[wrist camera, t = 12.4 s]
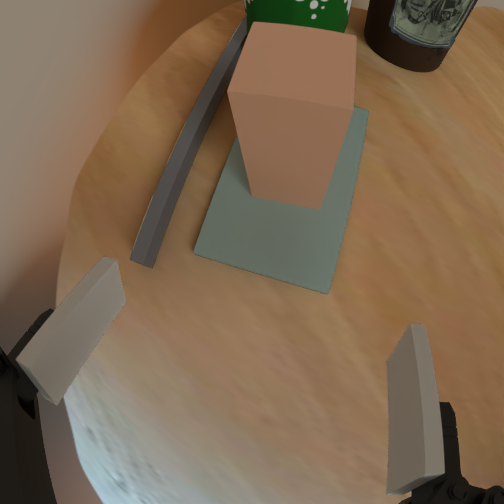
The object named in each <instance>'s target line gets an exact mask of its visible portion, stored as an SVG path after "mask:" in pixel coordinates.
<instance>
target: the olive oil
mask: <svg viewBox="0 0 504 504" xmlns="http://www.w3.org/2000/svg"><path fill="white" fill-rule="evenodd" d="M477 1H478V0H370V2H369V7H368V13H367V18H366V23H365V29H364V35H365V38H366V40H367V42H368V44H369V45H370V46H371V47H372V49H373V50H374V51H375V52H377V53H378V54H379V55H380V56H381V57H383V58H384V59H386V60H387V61H389V62H391V63H393V64H395V65H397V66H399V67H402V68H404V69H408V70H411V71H416V72H430V71H433V70H435V69H437V68H438V67H439V66H440V64H441V63H442V61H443V59H444V58H445V56H446V54H447V52H448V51H449V49H450V47H451V46H452V45H453V43H454V42H455V38H456V37H457V35H458V33H459V32H460V30H461V28H462V26H463V25H464V23H465V21H466V20H467V18H468V16H469V14H470V13H471V11H472V9H473V8H474V6H475V4H476V2H477Z"/></svg>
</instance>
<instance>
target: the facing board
mask: <svg viewBox="0 0 504 504" xmlns="http://www.w3.org/2000/svg"><path fill="white" fill-rule="evenodd" d="M368 114H369V111H368V110H365V109H361V108H358V107H355V106H354V110H353V114H352V117H351V120H350V123H349V126H348V129H347V132H346V135H345V138H344V141H343V144H342V147H341V150H340V153H339V156H338V159H337V162H336V165H335V167H334V170H333V173H332V176H331V179H330V182H329V185H328V187H327V190H326V193H325V196H324V199H323V201H322V204H321V207H320V210H319V209H314V208H309V207H303V206H298V205H293V204H288V203H282V202H277V201H271V200H266V199H260V198H254V197H252V194H251V190H250V185H249V181H248V177H247V173H246V168H245V164H244V160H243V156H242V151H241V147H240V143H239V139H238V135H237V136H236V139H235V141H234V144H233V146H232V149H231V151H230V154H229V156H228V159H227V161H226V164H225V166H224V169H223V172H222V174H221V177H220V179H219V182H218V185H217V187H216V190H215V193H214V195H213V198H212V201H211V204H210V206H209V209H208V212H207V214H206V217H205V220H204V223H203V226H202V228H201V231H200V234H199V237H198V240H197V243H196V245H195V248H194V251H193V253H194V254H195V255H198V256H201V257H205V258H208V259H211V260H214V261H218V262H221V263H224V264H227V265H230V266H234V267H237V268H240V269H243V270H247V271H250V272H253V273H257V274H260V275H263V276H266V277H270V278H273V279H276V280H280V281H283V282H286V283H290V284H293V285H297V286H300V287H303V288H307V289H310V290H313V291H317V292H320V293H324V294H328V293H329V289H330V286H331V282H332V278H333V275H334V271H335V267H336V264H337V260H338V256H339V252H340V248H341V244H342V240H343V236H344V232H345V228H346V224H347V220H348V215H349V211H350V207H351V202H352V198H353V193H354V189H355V184H356V179H357V174H358V169H359V164H360V159H361V154H362V148H363V143H364V137H365V132H366V126H367V120H368Z"/></svg>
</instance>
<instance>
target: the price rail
mask: <svg viewBox="0 0 504 504" xmlns="http://www.w3.org/2000/svg"><path fill="white" fill-rule="evenodd" d="M246 39H247V23H246V16H245V17H244V19H243V20H242V21H241V23H240V24H239V26H238V27H237V29H236V31H235V32H234V34H233V36H232V37H231V39H230V41H229V42H228V44H227V47H226V48H225V50H224V52H223V54H222V55H221V57H220V59H219V61H218V62H217V64H216V66H215V68H214V69H213V71H212V73H211V75H210V77H209V79H208V80H207V82H206V84H205V86H204V88H203V90H202V92H201V94H200V96H199V98H198V99H197V101H196V103H195V105H194V107H193V109H192V111H191V113H190V115H189V117H188V119H187V120H186V122H185V124H184V126H183V128H182V130H181V132H180V135H179V137H178V139H177V141H176V143H175V145H174V147H173V150H172V152H171V154H170V156H169V158H168V161H167V163H166V167H165V169H164V172H163V174H162V176H161V179H160V181H159V183H158V186H157V188H156V191H155V193H154V195H153V196H152V199H151V201H150V204H149V206H148V209H147V211H146V214H145V216H144V219H143V222H142V224H141V227H140V230H139V232H138V235H137V238H136V240H135V243H134V246H133V251H132V254H131V257H130V260H132V261H134V262H137V263H139V264H142V265H145V266H147V267H150V268H153V266H154V263H155V260H156V257H157V254H158V251H159V248H160V245H161V243H162V240H163V237H164V234H165V232H166V229H167V226H168V223H169V221H170V218H171V215H172V213H173V210H174V208H175V205H176V202H177V200H178V197H179V195H180V192H181V190H182V187H183V185H184V182H185V180H186V177H187V175H188V173H189V170H190V168H191V165H192V163H193V161H194V158H195V156H196V154H197V151H198V149H199V147H200V144H201V142H202V140H203V137H204V135H205V133H206V131H207V129H208V126H209V124H210V122H211V120H212V118H213V115H214V113H215V111H216V109H217V107H218V105H219V103H220V101H221V98H222V96H223V94H224V92H225V90H226V88H227V86H228V84H229V82H230V80H231V78H232V76H233V73H234V71H235V68H236V65H237V63H238V60H239V57H240V55H241V52H242V49H243V47H244V44H245V42H246Z"/></svg>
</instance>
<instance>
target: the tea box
mask: <svg viewBox="0 0 504 504" xmlns="http://www.w3.org/2000/svg"><path fill="white" fill-rule="evenodd" d="M355 74H356V36H355V35H350V34H345V33H340V32H335V31H330V30H324V29H318V28H311V27H304V26H296V25H288V24H278V23H266V22H253V24H252V27H251V29H250V32H249V34H248V37H247V39H246V42H245V44H244V47H243V49H242V52H241V55H240V57H239V60H238V63H237V65H236V68H235V71H234V73H233V76H232V79H231V82H230V84H229V87H228V90H227V93H228V97H229V101H230V106H231V110H232V114H233V118H234V122H235V126H236V131H237V135H238V139H239V143H240V147H241V151H242V156H243V160H244V164H245V168H246V173H247V177H248V181H249V185H250V190H251V194H252V197H254V198H260V199H266V200H271V201H277V202H282V203H288V204H293V205H298V206H303V207H309V208H314V209H319V210H320V207H321V204H322V201H323V199H324V196H325V193H326V190H327V187H328V185H329V182H330V179H331V176H332V173H333V170H334V167H335V165H336V162H337V159H338V156H339V153H340V150H341V147H342V144H343V141H344V138H345V135H346V132H347V129H348V126H349V123H350V120H351V117H352V114H353V110H354V94H355Z"/></svg>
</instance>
